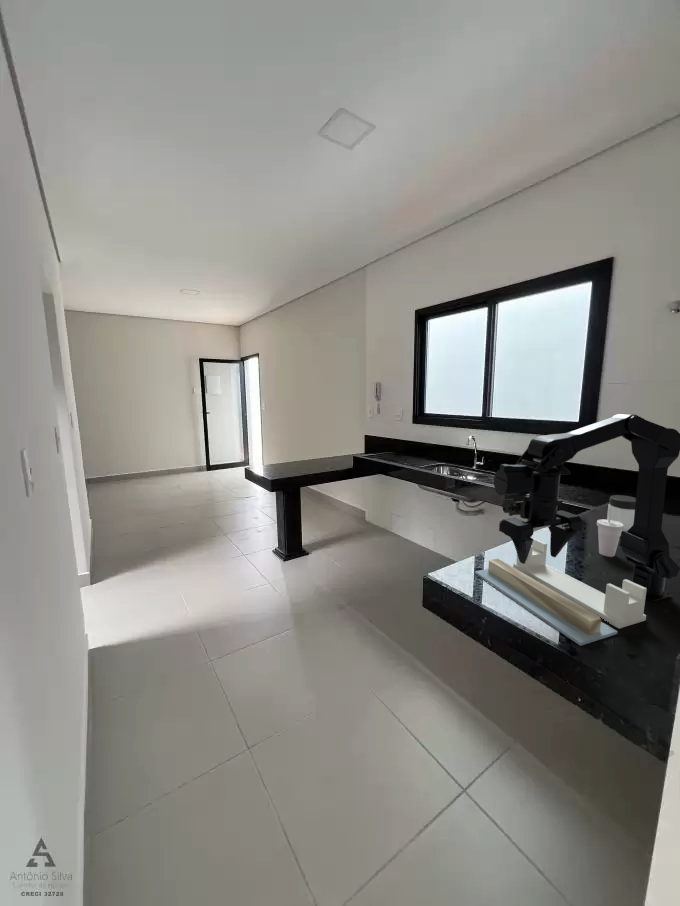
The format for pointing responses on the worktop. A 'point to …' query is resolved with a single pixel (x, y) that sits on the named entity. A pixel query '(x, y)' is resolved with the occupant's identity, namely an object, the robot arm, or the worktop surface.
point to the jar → (622, 510)
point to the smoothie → (609, 535)
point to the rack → (587, 590)
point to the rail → (547, 597)
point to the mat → (546, 612)
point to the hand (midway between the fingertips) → (537, 559)
